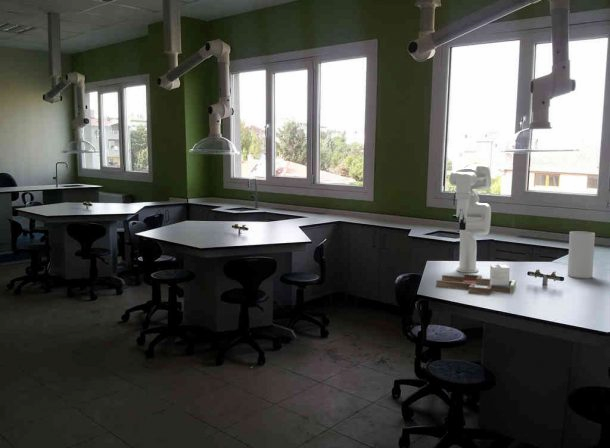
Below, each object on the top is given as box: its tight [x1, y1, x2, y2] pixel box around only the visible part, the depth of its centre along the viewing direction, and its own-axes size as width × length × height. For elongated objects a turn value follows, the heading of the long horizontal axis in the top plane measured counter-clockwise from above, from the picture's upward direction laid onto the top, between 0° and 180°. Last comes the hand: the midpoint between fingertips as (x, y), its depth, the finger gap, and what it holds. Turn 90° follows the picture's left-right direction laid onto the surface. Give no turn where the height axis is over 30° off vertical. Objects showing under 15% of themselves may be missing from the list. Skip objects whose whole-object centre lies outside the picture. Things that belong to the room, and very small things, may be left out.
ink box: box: [489, 261, 511, 287], centre depth 269 cm, size 9×8×13 cm
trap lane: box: [435, 273, 517, 296], centre depth 273 cm, size 31×38×4 cm
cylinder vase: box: [567, 230, 596, 280], centre depth 296 cm, size 12×12×25 cm
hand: (462, 229), depth 286 cm, fingers closed
